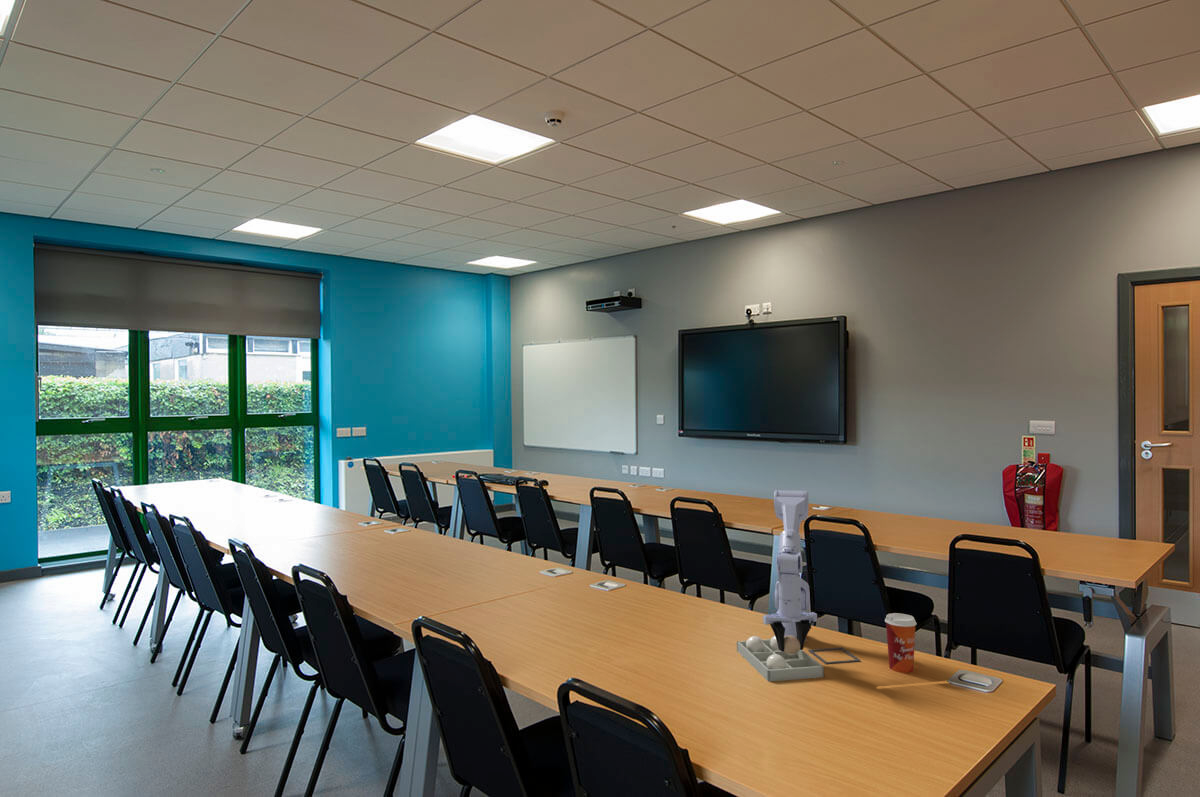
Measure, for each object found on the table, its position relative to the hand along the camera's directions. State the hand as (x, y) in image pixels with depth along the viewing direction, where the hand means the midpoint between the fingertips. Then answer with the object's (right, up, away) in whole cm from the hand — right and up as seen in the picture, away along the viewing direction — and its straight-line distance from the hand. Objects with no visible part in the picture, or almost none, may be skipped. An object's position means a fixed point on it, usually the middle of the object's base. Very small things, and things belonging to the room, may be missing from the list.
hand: (790, 649), depth 186 cm
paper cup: (+28, -4, -5) cm, 28 cm away
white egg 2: (-1, -4, +7) cm, 8 cm away
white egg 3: (-6, -3, -8) cm, 11 cm away
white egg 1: (-8, -4, +6) cm, 11 cm away
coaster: (+13, -4, +4) cm, 14 cm away
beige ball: (0, -1, 0) cm, 1 cm away
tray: (-3, -4, -1) cm, 6 cm away
